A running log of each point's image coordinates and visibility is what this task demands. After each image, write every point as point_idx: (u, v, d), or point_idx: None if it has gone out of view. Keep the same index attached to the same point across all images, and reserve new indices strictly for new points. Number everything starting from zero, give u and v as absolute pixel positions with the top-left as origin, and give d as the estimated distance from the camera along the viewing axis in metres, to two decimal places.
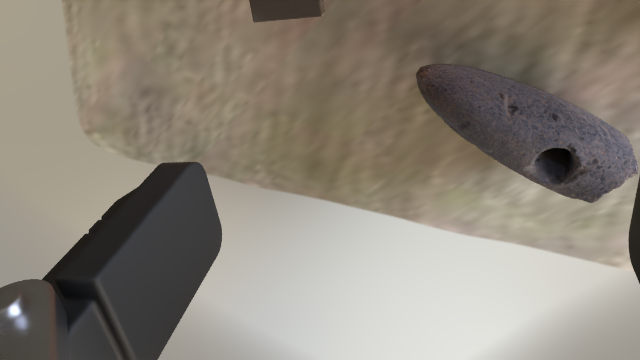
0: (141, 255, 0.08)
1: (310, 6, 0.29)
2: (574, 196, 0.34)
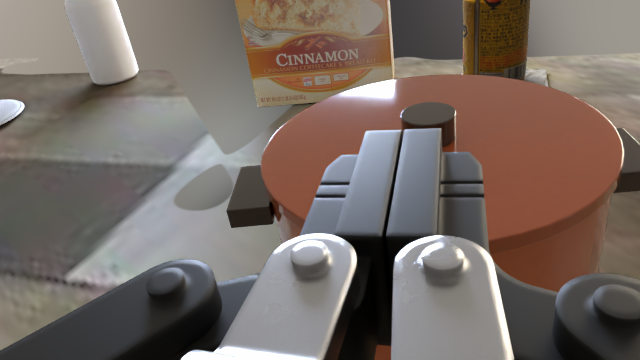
0: None
1: None
2: None
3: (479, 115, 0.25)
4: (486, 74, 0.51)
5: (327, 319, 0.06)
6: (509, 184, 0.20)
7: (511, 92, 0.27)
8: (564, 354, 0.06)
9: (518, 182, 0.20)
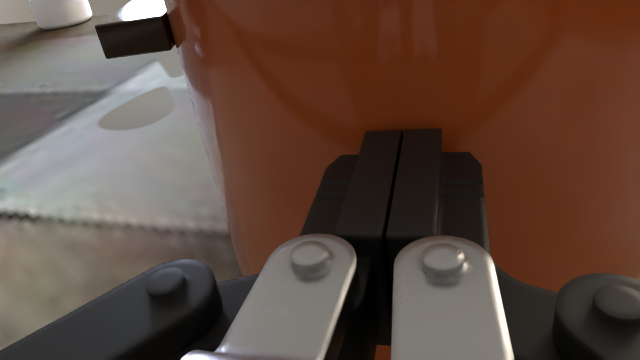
0: None
1: None
2: None
3: None
4: None
5: (327, 319, 0.06)
6: None
7: None
8: (564, 353, 0.06)
9: None
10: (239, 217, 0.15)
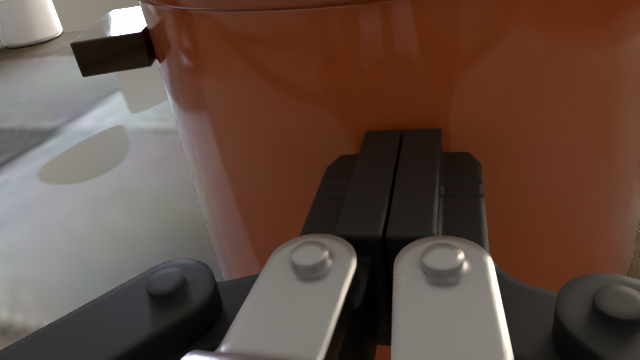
0: None
1: None
2: None
3: None
4: None
5: (327, 319, 0.06)
6: None
7: None
8: (564, 354, 0.06)
9: None
10: (230, 234, 0.15)
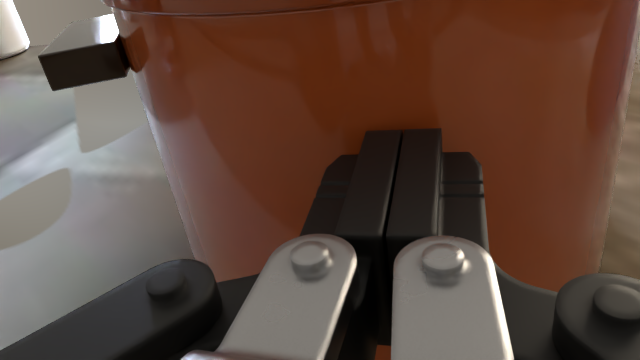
0: None
1: None
2: None
3: None
4: None
5: (327, 319, 0.06)
6: None
7: None
8: (564, 353, 0.06)
9: None
10: (220, 245, 0.14)
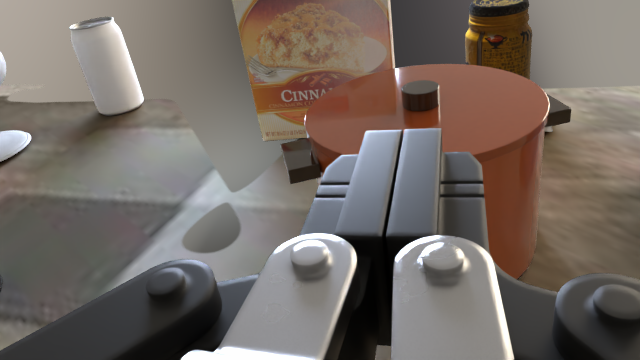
0: None
1: None
2: None
3: (448, 88, 0.36)
4: None
5: (327, 319, 0.06)
6: (486, 122, 0.31)
7: (463, 72, 0.38)
8: (564, 354, 0.06)
9: (491, 120, 0.31)
10: None
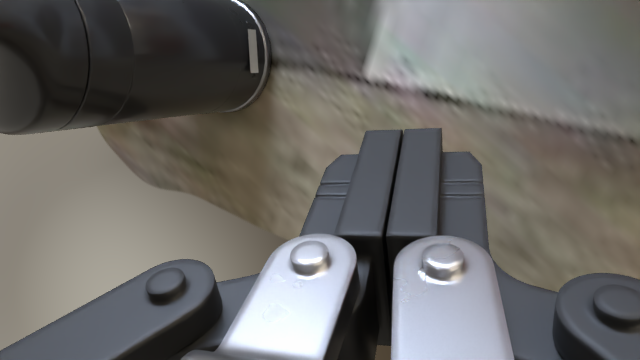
0: None
1: None
2: None
3: None
4: None
5: (327, 319, 0.06)
6: None
7: None
8: (564, 354, 0.06)
9: None
10: None
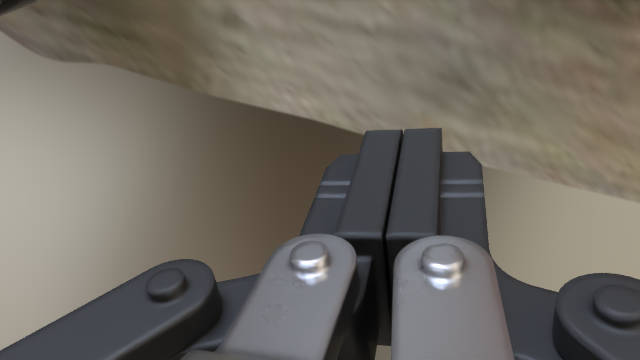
0: None
1: None
2: None
3: None
4: None
5: (327, 319, 0.06)
6: None
7: None
8: (564, 354, 0.06)
9: None
10: None
